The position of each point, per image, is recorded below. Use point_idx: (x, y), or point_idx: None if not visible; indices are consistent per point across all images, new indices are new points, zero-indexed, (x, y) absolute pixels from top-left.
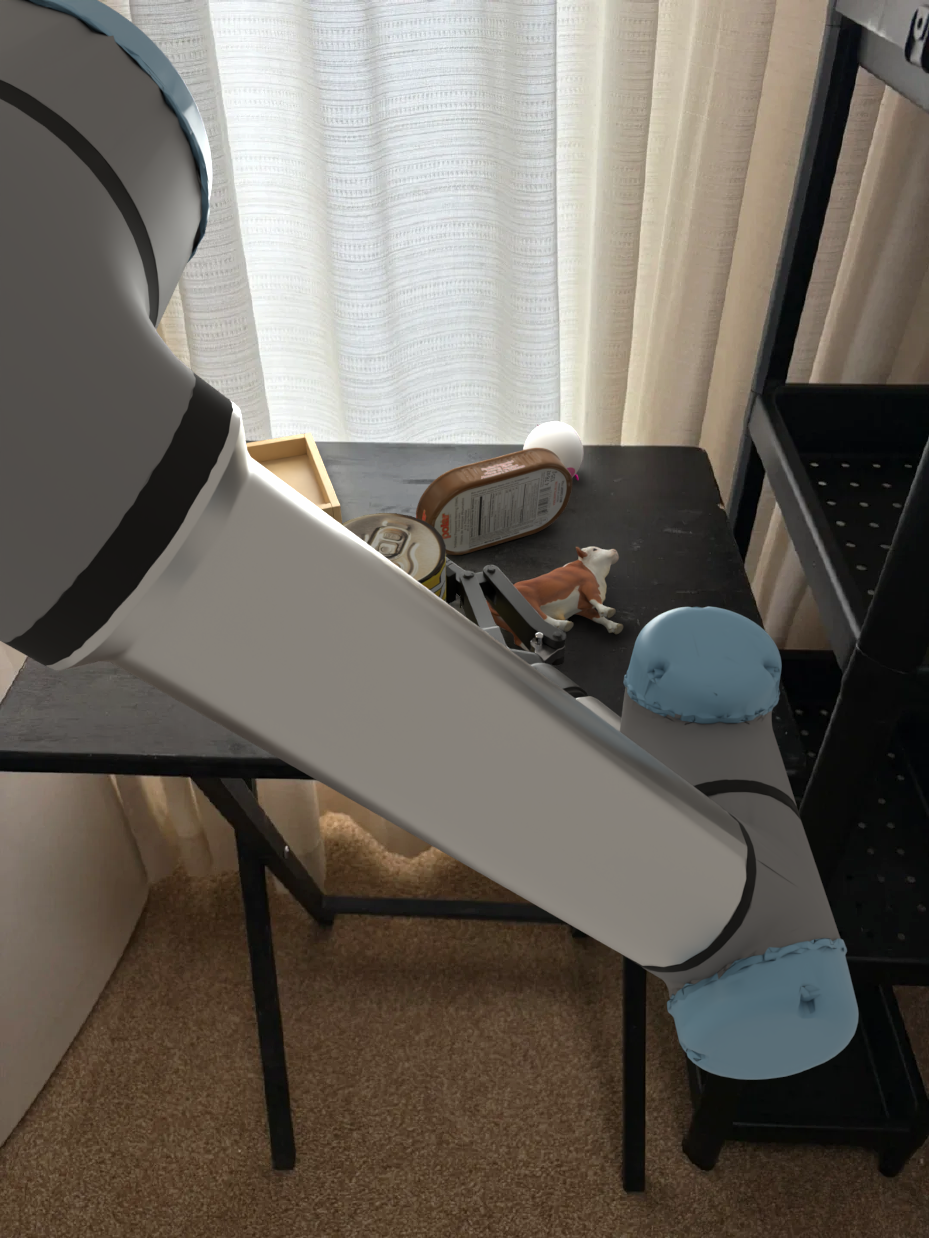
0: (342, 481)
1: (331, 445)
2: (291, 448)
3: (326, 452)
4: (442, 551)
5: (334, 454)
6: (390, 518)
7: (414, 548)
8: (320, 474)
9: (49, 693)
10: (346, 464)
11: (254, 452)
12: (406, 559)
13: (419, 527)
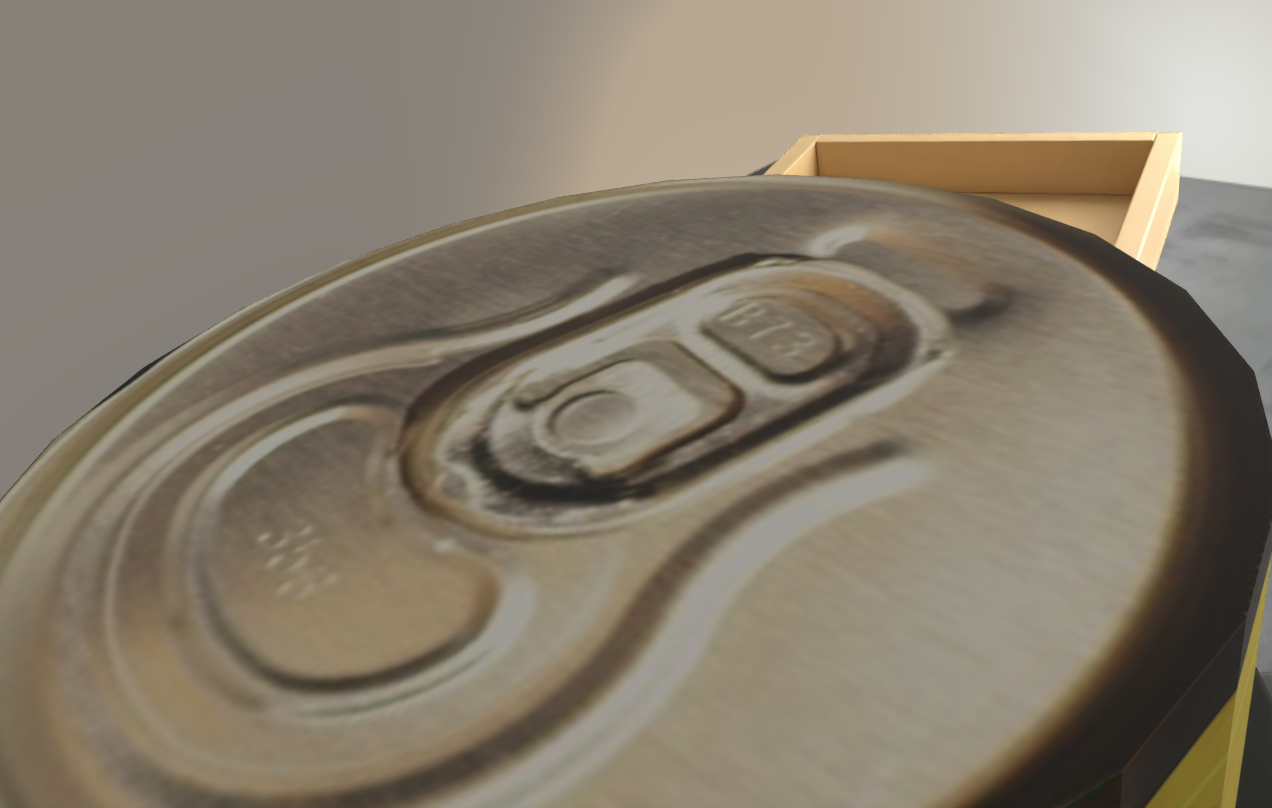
0: (1215, 282)
1: (1249, 192)
2: (1105, 168)
3: (1220, 205)
4: (1137, 680)
5: (1242, 213)
6: (916, 220)
7: (830, 500)
8: (1123, 228)
9: None
10: (1263, 243)
11: (994, 160)
12: (625, 584)
13: (1086, 328)
